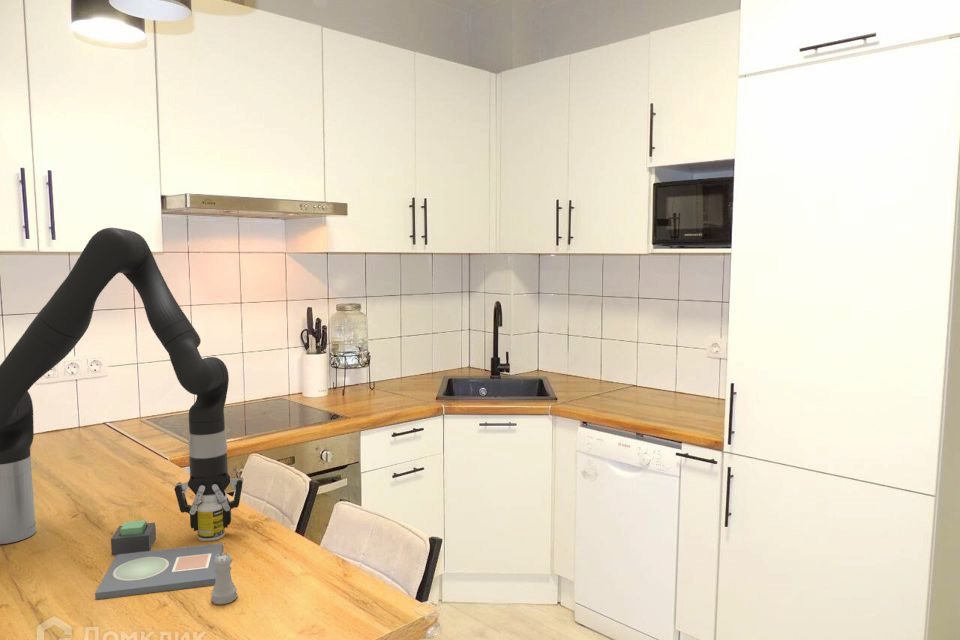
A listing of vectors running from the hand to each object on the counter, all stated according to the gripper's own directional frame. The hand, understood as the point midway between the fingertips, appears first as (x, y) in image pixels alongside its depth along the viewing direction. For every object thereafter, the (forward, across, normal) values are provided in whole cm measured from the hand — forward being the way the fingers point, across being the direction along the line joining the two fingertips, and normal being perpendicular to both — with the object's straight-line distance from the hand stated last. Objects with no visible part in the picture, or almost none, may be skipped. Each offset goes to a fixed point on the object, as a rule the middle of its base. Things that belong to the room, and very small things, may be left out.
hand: (211, 527), depth 148 cm
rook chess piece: (+2, +5, -29) cm, 30 cm away
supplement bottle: (+2, 0, 0) cm, 2 cm away
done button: (0, -15, -1) cm, 15 cm away
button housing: (+2, -15, -1) cm, 15 cm away
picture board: (+2, -7, -15) cm, 17 cm away
